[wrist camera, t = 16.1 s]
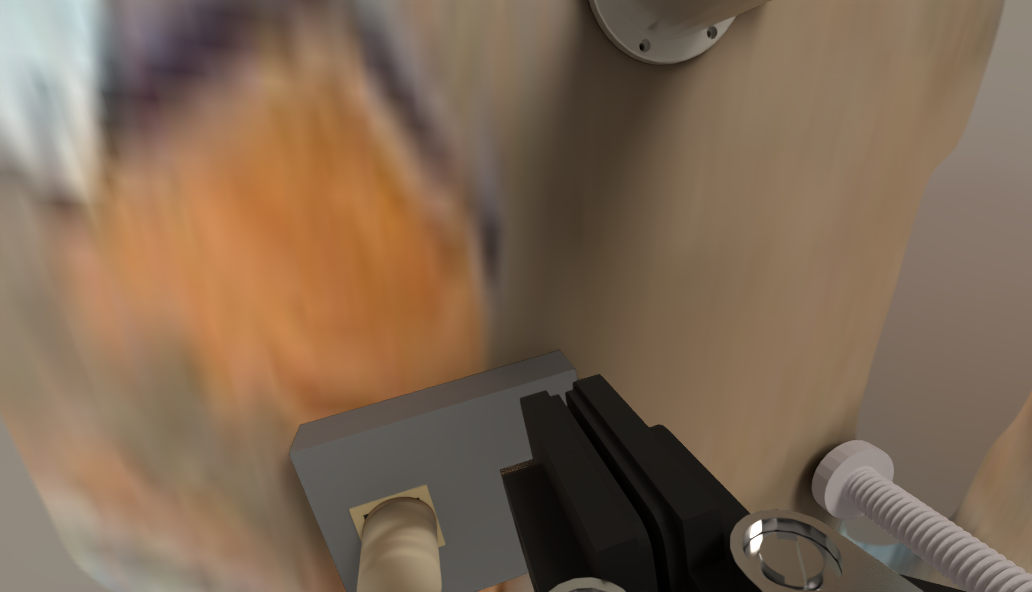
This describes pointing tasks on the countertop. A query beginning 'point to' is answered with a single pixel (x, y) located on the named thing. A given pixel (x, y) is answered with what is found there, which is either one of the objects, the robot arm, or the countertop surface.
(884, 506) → the screw
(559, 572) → the robot arm
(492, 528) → the seat block
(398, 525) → the peg
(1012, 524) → the countertop surface
